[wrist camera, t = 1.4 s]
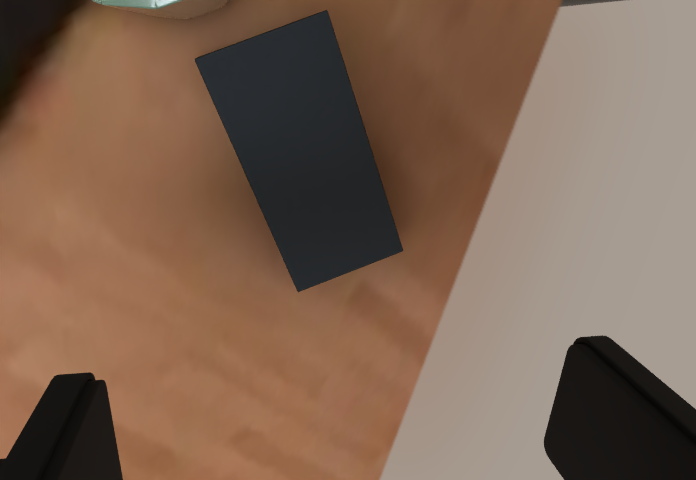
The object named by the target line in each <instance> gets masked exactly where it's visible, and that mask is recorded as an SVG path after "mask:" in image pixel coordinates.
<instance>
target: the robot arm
mask: <svg viewBox="0 0 696 480" xmlns="http://www.w3.org/2000/svg"><path fill="white" fill-rule="evenodd" d="M544 447H545V451H546V453H547V455H548V457H549V459H550V460H551V462H552V463H553V464H554V466H555V467H556V469H557V470H558V472H559V473H560V474H561V476H562V477H563V478H564V480H696V409H695V408H693V407H692V406H691V405H690V404H689V403H687V402H686V401H685V400H684V399H683V398H681V397H680V396H679V395H678V394H677V393H675V392H674V391H673V390H672V389H671V388H669V387H668V386H667V385H666V384H665V383H663V382H662V381H661V380H660V379H659V378H657V377H656V376H655V375H654V374H653V373H651V372H650V371H649V370H648V369H647V368H645V367H644V366H643V365H642V364H641V363H639V362H638V361H637V360H636V359H635V358H633V357H632V356H631V355H630V354H629V353H627V352H626V351H625V350H624V349H623V348H621V347H620V346H619V345H618V344H616V343H615V342H614V341H613V340H612V339H610V338H609V337H607V336H591V337H580V338H577V339H576V341H575V342H574V344H573V345H571V346H570V347H569V349H568V351H567V355H566V358H565V362H564V366H563V369H562V373H561V377H560V381H559V385H558V388H557V392H556V396H555V400H554V404H553V407H552V411H551V415H550V418H549V422H548V426H547V430H546V434H545V437H544ZM0 480H123V478H122V472H121V466H120V461H119V455H118V449H117V444H116V438H115V432H114V426H113V421H112V415H111V409H110V404H109V398H108V392H107V387H106V383H105V381H104V380H95V377H94V375H93V373H77V374H63V375H56V376H54V378H53V379H52V380H51V382H50V384H49V385H48V387H47V389H46V391H45V392H44V394H43V396H42V397H41V399H40V401H39V403H38V404H37V406H36V408H35V409H34V411H33V413H32V415H31V416H30V418H29V420H28V421H27V423H26V425H25V427H24V428H23V430H22V432H21V434H20V435H19V437H18V439H17V440H16V442H15V444H14V446H13V447H12V449H11V451H10V452H9V454H8V456H7V458H6V459H0Z"/></svg>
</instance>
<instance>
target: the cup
mask: <svg viewBox="0 0 696 480" xmlns="http://www.w3.org/2000/svg"><path fill="white" fill-rule="evenodd" d="M92 1H94V2H96V3H98V4H101V5H105V6H109V7H114V8H118V9H123V10H127V11H132V12H136V13H141V14H145V15H150V16H154V17H166V18H179V19H192V18H195V17H198V16H202V15H205V14H208V13H210V12H213V11H215V10H217V9H219V8H221V7H223V6H224V5H225V4H226V3H227V2H228V1H230V0H92Z"/></svg>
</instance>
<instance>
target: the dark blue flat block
mask: <svg viewBox="0 0 696 480" xmlns="http://www.w3.org/2000/svg"><path fill="white" fill-rule="evenodd" d="M195 62H196V64H197V66H198V69H199V71H200V73H201V75H202V78H203V80H204V82H205V84H206V87H207V89H208V91H209V93H210V96H211V98H212V100H213V102H214V105H215V107H216V109H217V111H218V114H219V116H220V118H221V120H222V123H223V125H224V127H225V129H226V132H227V134H228V136H229V138H230V141H231V143H232V145H233V147H234V150H235V152H236V154H237V156H238V159H239V161H240V163H241V165H242V168H243V170H244V172H245V174H246V177H247V179H248V181H249V183H250V186H251V188H252V190H253V192H254V195H255V197H256V199H257V201H258V204H259V206H260V208H261V210H262V213H263V215H264V217H265V219H266V222H267V224H268V226H269V228H270V230H271V233H272V235H273V237H274V239H275V242H276V244H277V246H278V248H279V251H280V253H281V255H282V257H283V260H284V262H285V264H286V266H287V269H288V271H289V273H290V275H291V278H292V280H293V282H294V284H295V287H296V289H297V291H298V292H300V291H302V290H305V289H307V288H310V287H312V286H315V285H318V284H320V283H323V282H325V281H328V280H330V279H333V278H335V277H338V276H341V275H343V274H346V273H348V272H351V271H353V270H356V269H358V268H361V267H364V266H366V265H369V264H371V263H374V262H376V261H379V260H382V259H384V258H387V257H389V256H392V255H394V254H397V253H399V252H402V251H403V248H402V245H401V242H400V239H399V236H398V232H397V229H396V226H395V223H394V220H393V217H392V213H391V210H390V207H389V204H388V201H387V198H386V194H385V191H384V188H383V185H382V182H381V179H380V175H379V172H378V169H377V166H376V163H375V160H374V156H373V153H372V150H371V147H370V144H369V141H368V137H367V134H366V131H365V128H364V125H363V122H362V118H361V115H360V112H359V109H358V106H357V103H356V99H355V96H354V93H353V90H352V87H351V84H350V80H349V77H348V74H347V71H346V68H345V65H344V61H343V58H342V55H341V52H340V49H339V46H338V42H337V39H336V36H335V33H334V30H333V27H332V23H331V20H330V17H329V14H328V11H327V10H326V11H323V12H320V13H317V14H315V15H312V16H309V17H307V18H304V19H301V20H298V21H296V22H293V23H290V24H288V25H285V26H282V27H279V28H277V29H274V30H271V31H269V32H266V33H263V34H261V35H258V36H255V37H252V38H250V39H247V40H244V41H242V42H239V43H236V44H233V45H231V46H228V47H225V48H223V49H220V50H217V51H214V52H212V53H209V54H206V55H204V56H201V57H198V58H196V59H195Z"/></svg>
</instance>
